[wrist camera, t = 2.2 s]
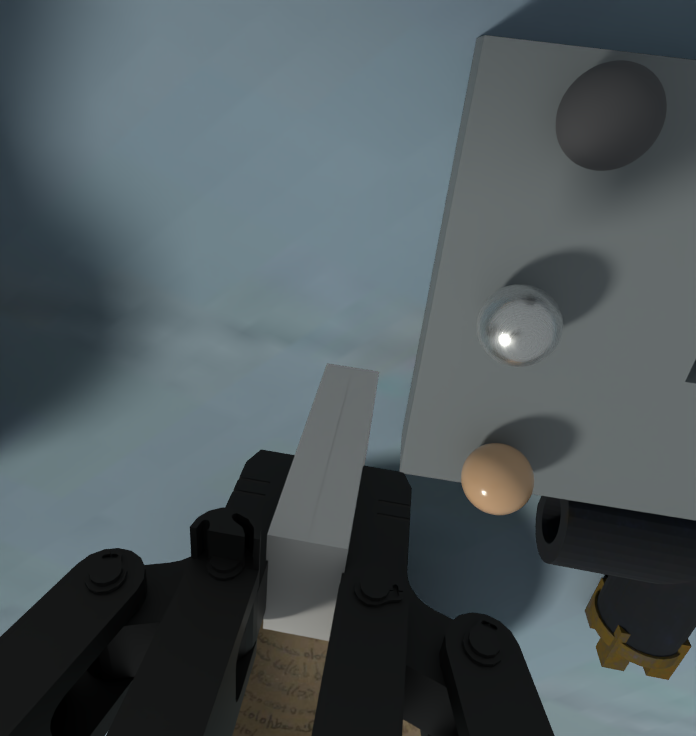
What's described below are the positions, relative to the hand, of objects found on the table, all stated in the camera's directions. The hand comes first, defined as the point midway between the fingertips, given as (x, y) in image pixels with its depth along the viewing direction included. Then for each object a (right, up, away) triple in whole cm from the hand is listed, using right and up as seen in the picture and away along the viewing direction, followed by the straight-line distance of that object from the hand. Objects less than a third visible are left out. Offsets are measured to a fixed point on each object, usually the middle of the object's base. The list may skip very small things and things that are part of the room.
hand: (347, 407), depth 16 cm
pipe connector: (+19, -10, +19) cm, 28 cm away
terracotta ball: (+7, -3, +12) cm, 14 cm away
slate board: (+14, +4, +11) cm, 18 cm away
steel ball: (+7, +4, +8) cm, 11 cm away
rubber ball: (+9, +10, +4) cm, 14 cm away
